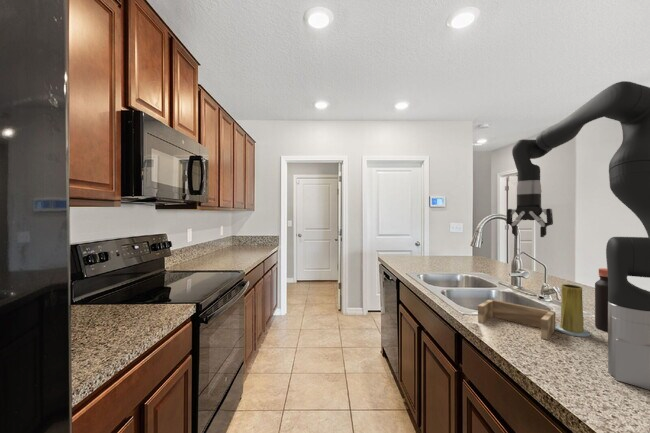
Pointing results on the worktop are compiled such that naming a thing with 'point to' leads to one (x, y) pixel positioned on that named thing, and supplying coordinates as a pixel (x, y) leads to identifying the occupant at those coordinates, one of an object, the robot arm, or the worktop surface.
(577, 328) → the vase
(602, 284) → the bottle
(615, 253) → the robot arm
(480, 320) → the wooden bracket
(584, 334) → the trivet
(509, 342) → the worktop surface
